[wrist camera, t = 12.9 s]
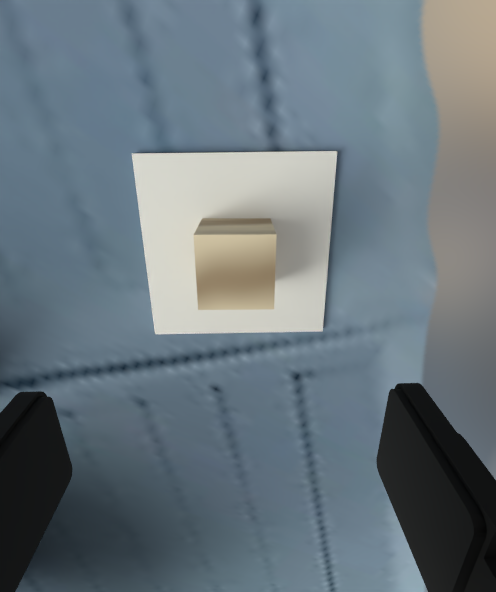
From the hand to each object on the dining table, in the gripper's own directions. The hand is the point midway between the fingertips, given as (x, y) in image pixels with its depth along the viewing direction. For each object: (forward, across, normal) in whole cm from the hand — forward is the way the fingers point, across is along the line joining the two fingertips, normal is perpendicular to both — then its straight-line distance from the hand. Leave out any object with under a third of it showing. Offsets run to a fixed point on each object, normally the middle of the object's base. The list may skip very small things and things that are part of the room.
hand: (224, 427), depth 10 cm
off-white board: (+19, 0, 0) cm, 19 cm away
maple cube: (+18, 0, 0) cm, 18 cm away
